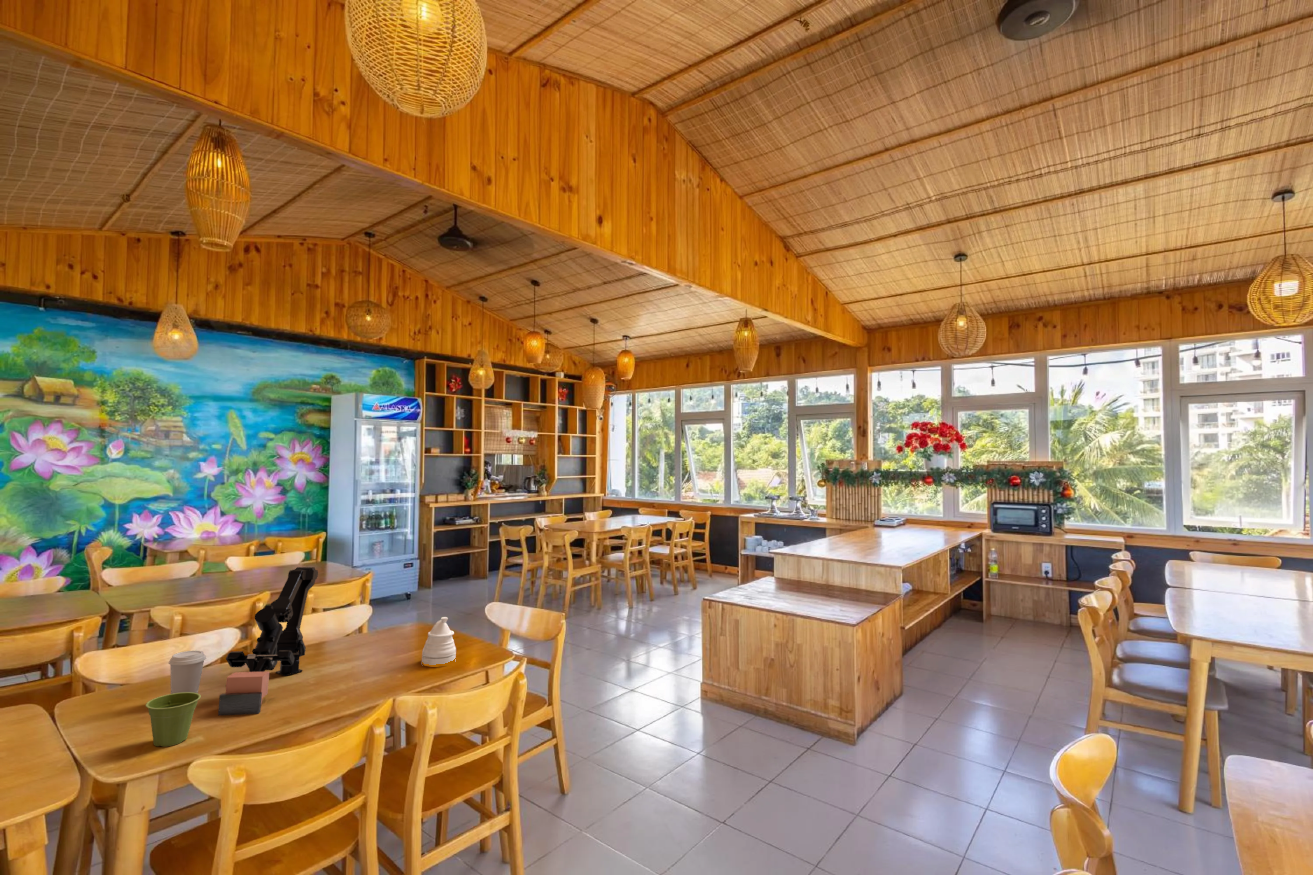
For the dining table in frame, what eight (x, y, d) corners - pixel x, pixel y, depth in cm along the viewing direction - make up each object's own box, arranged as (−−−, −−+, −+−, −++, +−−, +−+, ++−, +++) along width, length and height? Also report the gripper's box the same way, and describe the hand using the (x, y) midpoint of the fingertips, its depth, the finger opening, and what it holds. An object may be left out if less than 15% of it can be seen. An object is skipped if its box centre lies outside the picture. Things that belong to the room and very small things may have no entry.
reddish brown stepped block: (231, 705, 189) (234, 672, 190) (266, 703, 191) (269, 671, 192) (223, 711, 184) (226, 677, 185) (259, 709, 186) (262, 676, 187)
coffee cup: (160, 709, 185) (165, 659, 186) (169, 698, 193) (173, 651, 194) (199, 704, 189) (203, 656, 190) (205, 694, 198) (209, 648, 199)
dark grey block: (240, 698, 196) (241, 679, 196) (277, 696, 198) (278, 678, 198) (218, 715, 182) (219, 695, 182) (258, 713, 184) (259, 693, 184)
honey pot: (462, 661, 242) (464, 616, 243) (435, 669, 231) (438, 622, 232) (441, 655, 249) (444, 611, 250) (414, 663, 238) (417, 617, 239)
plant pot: (131, 746, 160) (135, 703, 161) (180, 729, 171) (183, 689, 172) (159, 755, 156) (163, 710, 157) (207, 737, 167) (210, 696, 168)
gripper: (303, 650, 209) (289, 694, 198) (244, 652, 206) (225, 696, 194) (297, 633, 202) (281, 677, 191) (235, 634, 198) (215, 679, 187)
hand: (251, 683), depth 191 cm, fingers closed
